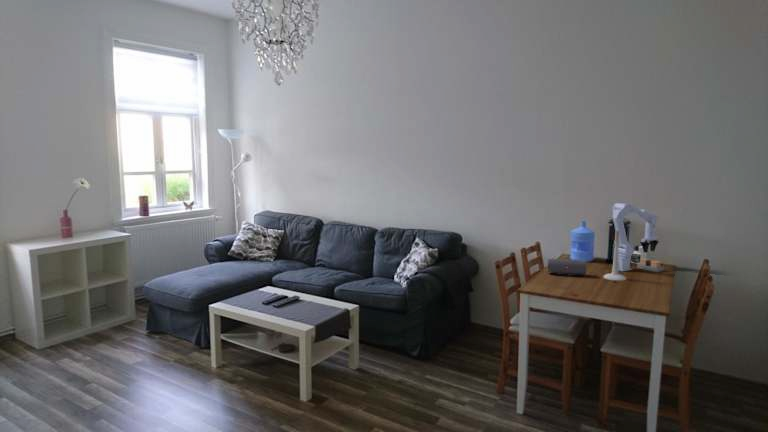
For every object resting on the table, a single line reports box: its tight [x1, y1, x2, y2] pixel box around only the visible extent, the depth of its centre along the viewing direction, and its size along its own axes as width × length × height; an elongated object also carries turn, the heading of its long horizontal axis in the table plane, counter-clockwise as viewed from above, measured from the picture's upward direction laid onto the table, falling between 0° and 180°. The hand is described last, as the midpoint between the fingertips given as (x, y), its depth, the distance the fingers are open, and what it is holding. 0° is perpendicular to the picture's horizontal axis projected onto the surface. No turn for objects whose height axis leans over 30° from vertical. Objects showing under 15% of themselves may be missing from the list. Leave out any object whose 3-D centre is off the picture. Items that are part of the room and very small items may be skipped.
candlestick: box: [603, 230, 627, 282], centre depth 301 cm, size 13×13×30 cm
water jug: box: [569, 220, 596, 263], centre depth 353 cm, size 16×16×28 cm
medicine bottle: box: [630, 245, 648, 265], centre depth 343 cm, size 7×7×12 cm
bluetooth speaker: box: [547, 258, 587, 276], centre depth 312 cm, size 23×9×10 cm, turn 71°
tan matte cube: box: [650, 260, 662, 268], centre depth 321 cm, size 5×4×5 cm
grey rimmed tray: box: [636, 258, 665, 273], centre depth 324 cm, size 14×7×6 cm, turn 29°
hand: (648, 251), depth 330 cm, fingers open, 7 cm apart
